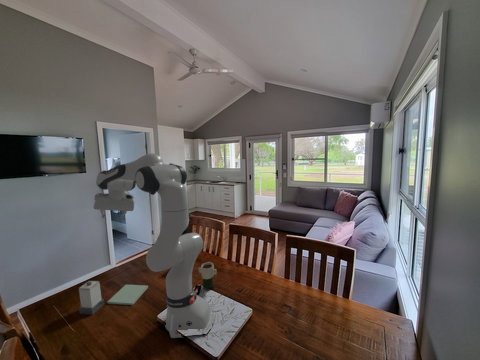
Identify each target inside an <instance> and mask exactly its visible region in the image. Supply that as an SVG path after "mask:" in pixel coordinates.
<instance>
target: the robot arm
mask: <svg viewBox="0 0 480 360" xmlns="http://www.w3.org/2000/svg"><path fill="white" fill-rule="evenodd" d="M187 179H188V175H187V171H186V169H185V168H184V167H183V166H181V165H177V164H174V163H168V164H166V163H164V160H163V159H162V157H161V156H160V155H158V154H156V153H147V154H144V155H142V156H140V157H138V158H137V159H135V160H134V161H133V160H132V161H131V162H127V163H124V164H123V163H122V164H118V165H117V166H114V167H112V168H110V169H107V170H101V172H99V173H97V176H96V180H95V184H96V186H97V187H98V188H99V189H100V190H102V191H103V190H105V191H107V190H108V193H102V192H99V193H96V194H95V195H94V203H93V209H94V210H99V211H100V214H101V218H102V219H105V218H106V214H105V213H103V212H104V211H120V212H122V214H120V219H124V217H125V215H126V214H127V213H128V212H134V210H135V200H134V198H135V197H134V195H132V194H131V193H128V192H130V191H133V190H134V189H135V188H136V186H137V188H138V189H140V190H141V191H142V192H144V193H149V194H150V195H151V196H152V195H153V196H154V195H155V194H156V193H158V195H159V196H160V209H161V211H160V212H161V226H160V231H159V234H158V235H157V238H156V241H154V243H153V245H152V246H151V247H149V249H148V251H147V252H146V255H145V256H146V257H145V262H146V266H147V267H148V268H149V270H151V271H152V272H155V273H158V272H163V271H166V270H168V269H170V270H169V271H168V273H167V275H166V277H165V287H166V288H165V289H166V292H165V303H166V316H165V317H166V318H165V321H166V325H165V324H164V326H165V329H166V331H168V333H169V336H170V338H171V339H177V338H183V337H182V336H181V334H179V333H177V331H176V330H188V329H199V330H200V329H205V328H207V326H211V325H212V323H213V322H214V319H215V320H216V314H215V315H214V314H211V312H215V313H216V311H215V309H214V308H213V307H211V306H210V303H209V301H208V300H206V299H205V298H202V297H201V296H200V295H198V294H197V293H198V288H196V289H194V287H193V269H194V266H195V262H196V261H197V258H198V256H199V254H200V253H201V252H202V251H203V248H204V241H203V238H202V236H201V235H200V234H199V233H198V232H190V233H184V231H186V229H187V228H188V226H189V224H190V223H189V222H190V219H189V218H190V217H189V216H190V213H189V198H188V194H187V193H188V192H187V189H186V188H187V187H186V186H185V184H186V183H187ZM183 233H184V234H183ZM214 323H215V322H214Z"/></svg>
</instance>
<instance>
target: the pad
mask: <svg viewBox="0 0 480 360" xmlns="http://www.w3.org/2000/svg"><path fill="white" fill-rule="evenodd" d="M148 288H149V285H141V284H124V285H123V286H122V287H121V288H120V289H119V290H118V291H117V292H116V293H115V294H114V295H113V296H112V297H111V298H109V300H107V304H109V305H126V306H127V305H129V306H133V305H134V304H135V303H136V302H137V301H138V300H139V298H140V297H141V296H142V295H143V294H144V292H146V290H147V289H148Z"/></svg>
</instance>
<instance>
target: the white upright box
mask: <svg viewBox="0 0 480 360" xmlns="http://www.w3.org/2000/svg"><path fill="white" fill-rule="evenodd" d="M100 283H101V282H100V281H98V280H88V281H86V282H85V283H84V284H83V285H81V286H80V287H78V292H79V300H80V307H85V308H93V307H94V306H95V305H96V304H97V303H98V302H99V301H100V300H102V299H103V298H102V290H101V284H100Z"/></svg>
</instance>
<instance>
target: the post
mask: <svg viewBox="0 0 480 360" xmlns="http://www.w3.org/2000/svg"><path fill="white" fill-rule="evenodd" d="M104 305H105V299H104V298H102V300H100V301H99V302H98V303H97V304H96V305H95V306H94V307H93V308H85V307H81V306H80V307H78V309H79V314H80V315H91V316H93V315H94V314H95V313H97V312H98V311H99V310H100V309H101V307H103V306H104Z"/></svg>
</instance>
